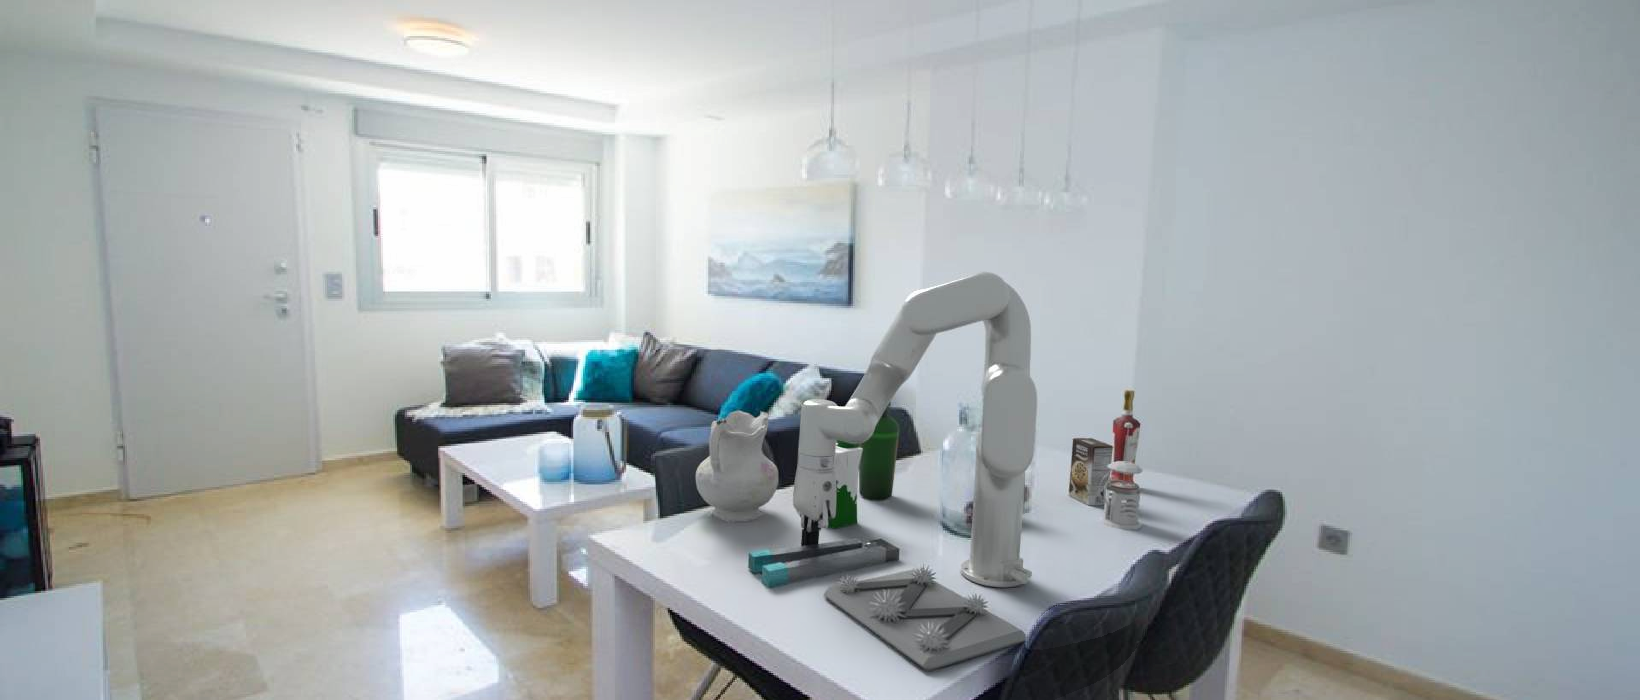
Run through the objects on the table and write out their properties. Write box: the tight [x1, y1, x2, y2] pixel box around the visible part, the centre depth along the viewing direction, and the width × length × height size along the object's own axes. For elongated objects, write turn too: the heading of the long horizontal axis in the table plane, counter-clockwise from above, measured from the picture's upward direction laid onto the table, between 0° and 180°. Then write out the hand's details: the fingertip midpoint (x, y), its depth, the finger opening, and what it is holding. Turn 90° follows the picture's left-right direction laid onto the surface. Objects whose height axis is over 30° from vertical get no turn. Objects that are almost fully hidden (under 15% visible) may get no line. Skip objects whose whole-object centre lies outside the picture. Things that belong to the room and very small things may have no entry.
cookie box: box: [1068, 437, 1113, 506], centre depth 204 cm, size 9×6×16 cm
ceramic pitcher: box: [695, 410, 779, 523], centre depth 179 cm, size 22×20×25 cm
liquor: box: [1110, 389, 1141, 483], centre depth 219 cm, size 7×7×28 cm
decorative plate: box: [823, 563, 1027, 672], centre depth 130 cm, size 30×22×7 cm
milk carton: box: [828, 440, 863, 530], centre depth 177 cm, size 9×9×20 cm
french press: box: [1099, 423, 1144, 530], centre depth 185 cm, size 10×12×25 cm
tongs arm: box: [747, 538, 877, 574], centre depth 152 cm, size 27×5×3 cm, turn 116°
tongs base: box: [761, 538, 900, 589], centre depth 151 cm, size 30×7×3 cm, turn 122°
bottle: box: [858, 401, 901, 501], centre depth 199 cm, size 11×11×28 cm
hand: (809, 547), depth 156 cm, fingers closed
